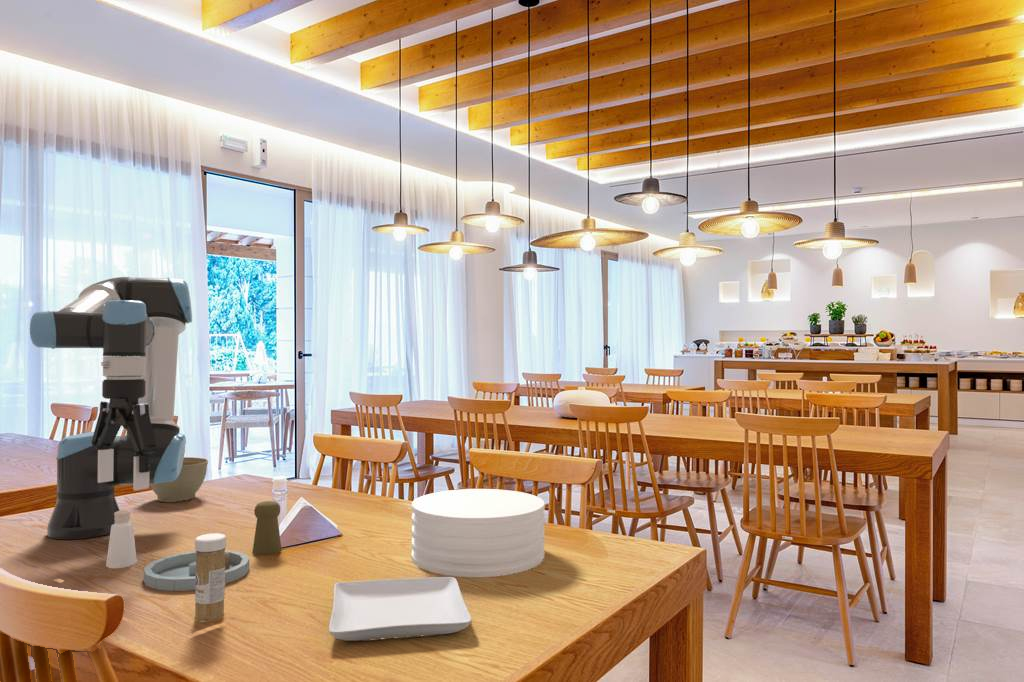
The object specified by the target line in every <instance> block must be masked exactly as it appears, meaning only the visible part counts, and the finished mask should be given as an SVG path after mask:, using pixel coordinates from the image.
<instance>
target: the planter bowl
mask: <svg viewBox="0 0 1024 682" xmlns="http://www.w3.org/2000/svg"><path fill="white" fill-rule="evenodd" d="M208 463H209V460H208V459H207V458H201V457H190V456H188V457H185V456H184V460H183V464H182V468H181V471H180V474H179V476H178V477H177V479H176V480H174V481H172V482H164V483H158V484H154V483H150V484H149V487H150V488H151V489H152V492H153V493H155V495H156V497H157V500H158V501H159V502H163V503H165V502H166V503H175V502H174V501H179V502H184V501H183V500H186V501H189V500H188V499H191V498H193V499H194V498H196V497H195V496H196V494H197V492H198V491H199V490H200V488H201V487H202V485H203V483H204V481H205V479H206V474H207V471H208V470H207V469H208ZM191 500H192V499H191Z"/></svg>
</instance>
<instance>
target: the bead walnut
mask: <svg viewBox="0 0 1024 682" xmlns="http://www.w3.org/2000/svg"><path fill="white" fill-rule="evenodd" d="M228 569H230V553H228V552H225V570H228Z"/></svg>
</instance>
